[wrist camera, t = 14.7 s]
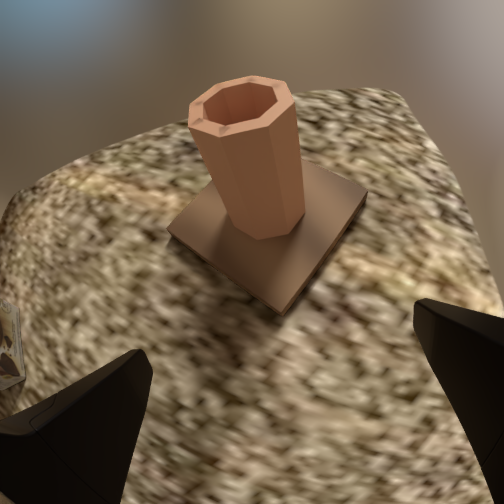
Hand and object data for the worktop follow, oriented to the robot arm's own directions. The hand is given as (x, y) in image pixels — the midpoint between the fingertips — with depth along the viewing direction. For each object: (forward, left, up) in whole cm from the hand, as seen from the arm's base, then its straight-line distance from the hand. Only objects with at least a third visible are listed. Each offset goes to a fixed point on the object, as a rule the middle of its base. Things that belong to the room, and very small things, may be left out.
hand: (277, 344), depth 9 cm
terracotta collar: (+9, +9, -10) cm, 16 cm away
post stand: (+8, +9, -11) cm, 16 cm away
